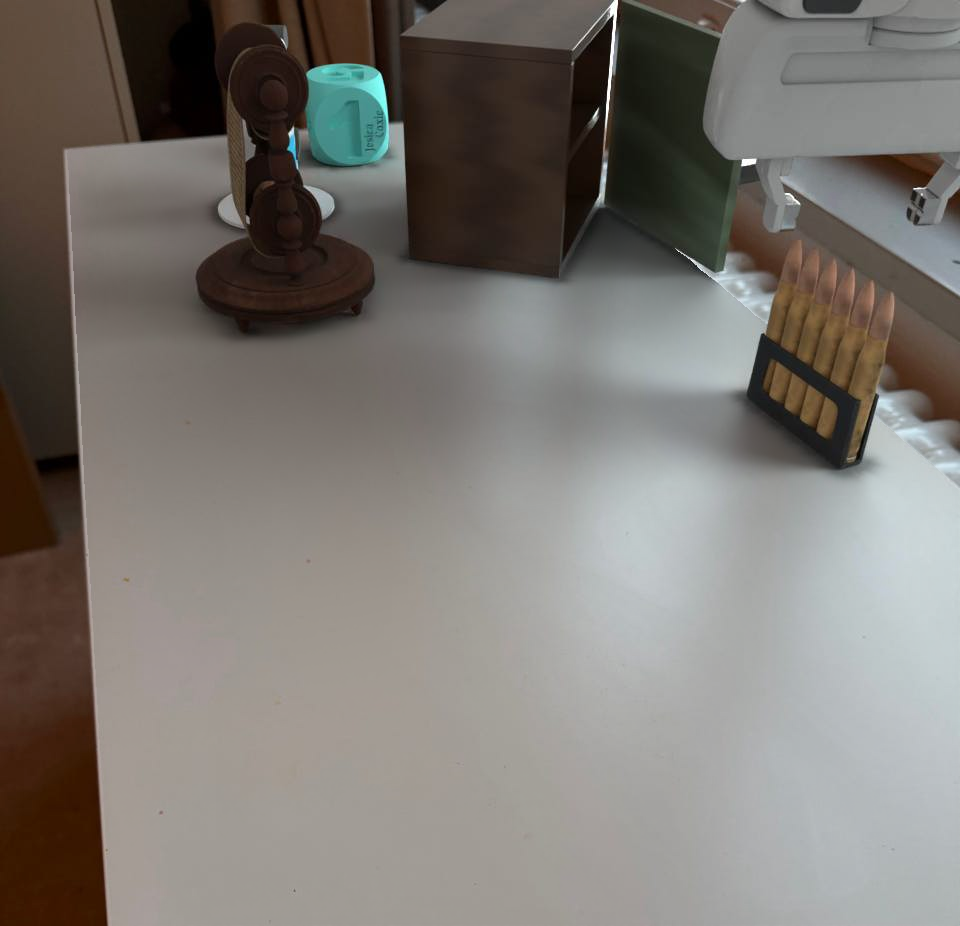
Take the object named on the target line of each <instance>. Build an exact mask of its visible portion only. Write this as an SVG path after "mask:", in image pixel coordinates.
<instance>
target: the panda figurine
mask: <svg viewBox="0 0 960 926" xmlns="http://www.w3.org/2000/svg"><path fill="white" fill-rule="evenodd" d="M265 25H266V26H268V27H269V28H271V29H272V30H273V31H274V32H276V33H277V34H278V36H279V37H280V38H281V39H282V41H283V43H284V44H285V46H286V49H287V48H289V35H288V29H287V26H286V25H285V24H265ZM287 50H288V49H287ZM242 122H243V132H244V143H245V158H246V161H247V160H249V159H250V158H252V157H254V154H255V147H256V145H254V144H253V143H251V138H250V137H249V136H248V133H247V129H246V124H245V121H244V120H243V119H242ZM288 134H289V138H290V144H289V147H288V149H287V150H289V151H291V152H292V153H293V155H294V158H295V162H296V168H297V169H298V170H299V164H298V161H299V160H300V156H301V155H300V154H301V137H300V130H299V128H298V127H295V125H294V126H293V128H292V130H291V131H290V132H289V133H288ZM303 186H304V187H305V188H306V189H307V190H309V191H310V192H311V193H312V194H313V195H314V197H315V198H316V200H317V201H318V203H319V206H320V209H321V213H322V221H324V220H326V219H327V218H328V217H330V216H331V215H332V213H333V212H334V210H335V200H334V198H333V196H332V195H331V194H330V193H328V192H326V191H324V190H323V189H320V188H318V187H314V186H311V185H304V184H303ZM217 211H218V215H219V217H220V219H221V220H222V221H223V222H224V223H226V224H228V225H230V226H233V227H235V228H238V229H243V230H245V228H244V225H243V223H242V221H241V219H240V217H239V214H238V212H237V210H236V207H235V204H234V201H233V196H232V193H230V194H228V195H227V196H225V197H224V198H222V199H221V201H220V202H219V204H218V205H217ZM246 221H247V223H248V224H250V223H249V217H248V216H247V215H246Z"/></svg>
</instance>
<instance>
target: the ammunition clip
mask: <svg viewBox="0 0 960 926" xmlns="http://www.w3.org/2000/svg"><path fill="white" fill-rule="evenodd" d="M802 260H803V244H802V240H801V237H796V239H795V240H794V241H793V243H792V244H791V246H790V249H789V250H788V253H787V254H786V257H785V261H784V264H783V266H782V271H781V276H780V278H779V281H778V285H777V289H776V291H775V293H774V296H773V298H772V302H771V306H770V311H769V316H768V321H767V325H766V330H765V332H762V333H760V336H759V341H758V345H757V348H756V353H755V357H754V362H753V365H752V370H751V374H750V379H749V382H748V386H747V391H746V398H747V399H748V400H750V401H751V402H753V403H754V404H755V405H756V406H758V407H759V408H760V409H762V410H763V411H764V412H766V413H767V414H768V415H769V416H770V417H772V418H773V419H775V420H776V421H777V422H778V423H780V425H782V426H783V427H784V428H786V429H787V430H788V431H790V432H791V433H792V434H793V435H795V436H796V437H797V438H798V439H800V440H801V441H803V443H805V444H806V445H808V447H810V448H811V449H813V450H814V451H816V452H817V453H818V454H819V455H821V456H822V457H823V458H824V459H826V460H827V461H828V462H830V463H831V464H832V465H833V466H835V467H836V468H838V469H839V470H841V469H844V468H848V467H852V466H854V465H858V464H861V463H862V462H863V458H864V455H865V450H866V447H867V443H868V439H869V436H870V432H871V427H872V424H873V421H874V416H875V415H876V414H875V413H876V410H877V405H878V402H879V399H880V394H878V393H877V389H878V386H879V382H880V379H881V375H882V372H883V369H884V366H885V362H886V352H887V347H888V342H889V338H890V337H889V336H890V333H891V329H892V325H893V321H894V316H895V315H894V314H895V295H894V291H892V290H890V291H888V292H887V294H886V295H885V296H884V297H883V298H882V300H881V301H880V304H879V305H878V307H877V309H876V312H875V314H874V316H873V319H872V321H871V318H872V315H873V310H874V302H875V284H874V280H873V279H869V280H868V281H867V282H866V283H865V284H864V286H863V288H862V289H861V291H860V292H859V295H858V296H857V298H856V301H855V303H854V306H853V302H854V298H855V289H856V277H855V270H854V268H853V267H852V268H849V269H848V270H847V272H846V273H845V274H844V276H843V278H842V280H841V281H840V283H839V286H838V287H837V290H836V286H837V277H838V275H837V273H838V271H837V270H838V269H837V266H838V265H837V261H836V258H835V257H831V258H830V259H829V261H828V262H827V264H826V265H825V267H824V269H823V271H822V272H821V275H820V277H819V272H820V254H819V250H818V247H814V248H812V250H811V251H810V252H809V254H808V256H807V258H806V260H805V262H804V264H803V266H802V263H803V261H802ZM818 279H819V280H818ZM852 307H853V308H852ZM870 323H871V324H870Z"/></svg>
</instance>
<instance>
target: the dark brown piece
mask: <svg viewBox="0 0 960 926" xmlns="http://www.w3.org/2000/svg"><path fill="white" fill-rule="evenodd" d="M266 25H267V24H264V23H261V22H257V21H243V22H239V23H236V24H234V25H232V26H231V27H229V28H228V29H227V30H225V32H224V33H223V34H222V35H221V37H220V38H219V40H218V42H217V44H216V48H215V53H214V69H215V73H216V76H217V79H218V81H219V82H220V84H221V87H222V88H223V89H224V91H225V92H226V93H227V96H226V97H227V98H226V136H227V137H226V138H227V152H228V166H229V179H230V188H231V194H232V196H233V201H234V204H235V207H236V210H237V212H238V214H239V217H240V219H241V221H242V223H243V225H244V228H245V229H244V230H245V232H246V234H247V236H246V237H245V236H244V237H243V238H239V239H237V240H234V241H231V242H230V243H227V244H226V245H223V246H221V247H220V248H219V249H217V250H216V251H215V252H213V253H211V254H210V255H209V256H207V257H206V258H205V259H204V260H203V261H202V262H201V263H200V264H199V266H198V268H197V269H196V272H195V283H196V288H197V294H198V297H199V299H200V300H201V301H202V302H203V304H204V305H206V306H207V307H208V308H210V309H211V310H212V311H215V312H216V313H218V314H221V315H223V316H226V317H229V318H232V319H234V323H235V325H236V326H237V328H238V330H239V332H241V333H243V334H244V333H246V332H248V329H249V327H250V326H249V325H250V322H253V323H263V324H289V323H290V324H291V323H300V322H301V323H302V322H309V321H314V320H318V319H321V318H322V319H323V318H327V317H330V316H333V315H336V314H339V313H342V312H344V311H347V310H349V309H350V310H351V312H352V314H353V315H354V316H359V315H361V314H362V310H363V306H364V305H363V304H364V300H365V299H366V298H367V297H368V296H369V295H370V294H371V292H372V291H373V289H374V287H375V284H376V273H375V264H374V261H373V259H372V257H371V256H370V254H369V253H367V252H366V251H365V250H364V249H362V248H361V247H359V246H357V245H355V244H354V243H351V242H350V241H347V240H345V239H342V238H340V237H338V236H334V235H331V234H326V233H322V232H321V230H322V225H323V224H322V223H323V220H322V213H321V209H320V206H319V203H318V201H317V200H316V198H315V197H314V195H313V194H312V193H311V192H310V191H309V190H307V189H306V188H305V187H304V186H303V185H304V181H303V177H302V175H301V173H300V172H299V168H298V169H297V168H296V162H295V158H294V155H293V153H292V152H291V151H289V150H287V149H288V147H289V144H290V138H289V134H288V133H289V132H290V131H291V130H292V128H293V126H294V127H295V124H296V123H297V122H298V121H299V119H300V118H301V117H302V116H303V114H304V112H305V108H306V105H307V102H308V97H309V84H308V79H307V75H306V74H307V72H306V71H305V68H304V67H303V65H302V63H301V61H299V59H298V58H297V57H296V56H295V55H294V54H293V53H292V52H291V51H289V50H288V49H286V46H285V44H284V43H283V41H282V39H281V38H280V37H279V36H278V34H277V33H276V32H274V31H273V30H272V29H271V28H269V27H268V26H266ZM242 119H243V120H244V121H245V124H246V129H247V133H248V136H249V137H250V138H251V143H253V144H254V145H256V147H255V154H254V157H252V158H250V159H249V160H247V161H246V158H245V143H244V132H243V122H242ZM246 215H247V216H248V217H249V223H250V224H248V223H247V221H246Z"/></svg>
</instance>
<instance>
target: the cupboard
mask: <svg viewBox="0 0 960 926" xmlns="http://www.w3.org/2000/svg"><path fill="white" fill-rule="evenodd" d="M617 10H618V0H446V1H444V2H443V3H442V4H440V5H439V6H437V7H436V8H434V9H433V10H432V11H431V12H429V13H428V14H427V15H426V16H424V17H422V18H421V19H419V21H417V22H415V23H414V24H413V25H412V26H410V27H409V28H408V29H406V30H405V31H403V32H402V33H401V34H399V54H400V55H399V56H400V78H401V80H400V81H401V101H402V102H401V104H402V124H403V125H402V126H403V127H402V128H403V147H404V149H403V151H404V174H405V175H404V177H405V198H406V199H405V200H406V220H407V242H408V243H407V245H408V259H410V260H417V261H424V262H433V263H441V264H446V265H447V264H448V265H456V266H463V267H471V268H478V269H479V268H480V269H487V270H493V271H501V272H508V273H515V274H517V273H518V274H524V275H531V276H538V277H545V278H553V279H559V278H560V277H561V275H562V274H563V271H564V269H565V268H566V266H567V264H568V263H569V260H570V259H571V257H572V255H573V253H574V251H575V250H576V248H577V246H578V245H579V242H580V241H581V239H582V237H583V235H584V234H585V232H586V230H587V228H588V227H589V225H590V223H591V221H592V219H593V218H594V216H595V214H596V212H597V210H598V209H599V207H600V205H601V198H602V187H603V186H602V185H603V175H604V163H605V150H606V142H607V141H606V139H607V129H608V117H609V115H608V114H609V103H610V92H611V81H612V68H613V59H614V58H613V56H614V46H615V34H616V33H615V32H616V24H617V23H616V22H617Z"/></svg>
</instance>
